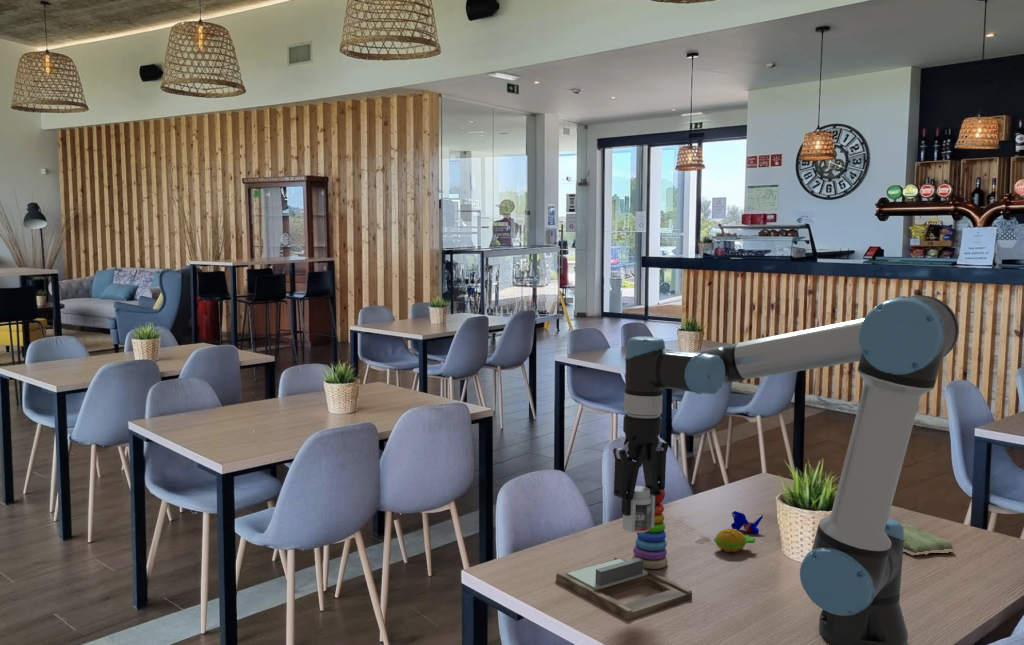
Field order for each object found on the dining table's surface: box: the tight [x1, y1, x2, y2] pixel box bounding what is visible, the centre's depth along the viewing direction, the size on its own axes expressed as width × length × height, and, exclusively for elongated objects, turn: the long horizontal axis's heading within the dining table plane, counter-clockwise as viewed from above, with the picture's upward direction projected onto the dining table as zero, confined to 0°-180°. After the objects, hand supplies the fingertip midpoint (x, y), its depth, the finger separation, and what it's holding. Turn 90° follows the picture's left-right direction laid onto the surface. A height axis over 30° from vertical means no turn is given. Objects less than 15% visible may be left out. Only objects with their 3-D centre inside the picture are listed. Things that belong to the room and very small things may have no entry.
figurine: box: [730, 510, 764, 535], centre depth 208 cm, size 5×8×5 cm, turn 64°
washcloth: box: [901, 523, 954, 553], centre depth 202 cm, size 13×18×3 cm
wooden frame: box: [555, 555, 693, 621], centre depth 170 cm, size 22×18×2 cm
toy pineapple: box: [713, 528, 756, 553], centre depth 194 cm, size 7×10×5 cm
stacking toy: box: [631, 485, 669, 570], centre depth 184 cm, size 8×8×19 cm
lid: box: [567, 558, 648, 590], centre depth 174 cm, size 9×15×4 cm, turn 125°
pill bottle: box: [633, 485, 651, 534], centre depth 165 cm, size 5×5×8 cm
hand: (638, 527), depth 165 cm, fingers closed on pill bottle, 5 cm apart
